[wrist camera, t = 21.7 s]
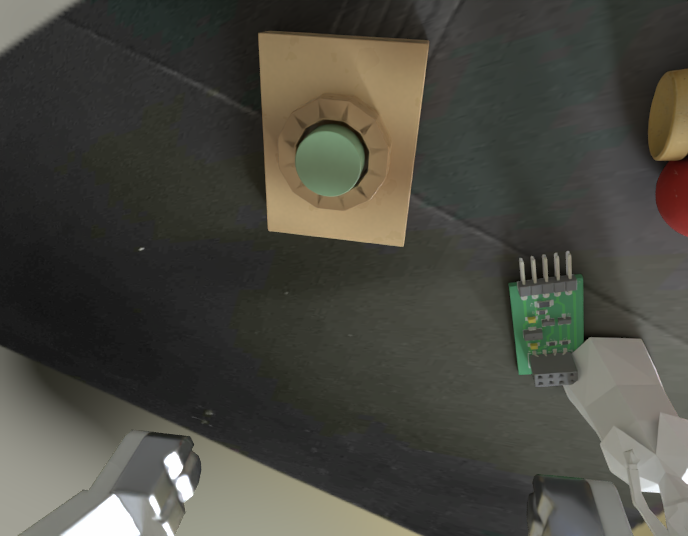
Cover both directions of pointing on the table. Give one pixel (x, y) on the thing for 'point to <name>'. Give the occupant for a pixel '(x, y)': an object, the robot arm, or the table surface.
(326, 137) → the button
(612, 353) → the figurine
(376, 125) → the button block
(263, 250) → the table surface
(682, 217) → the kendama
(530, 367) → the circuit board
